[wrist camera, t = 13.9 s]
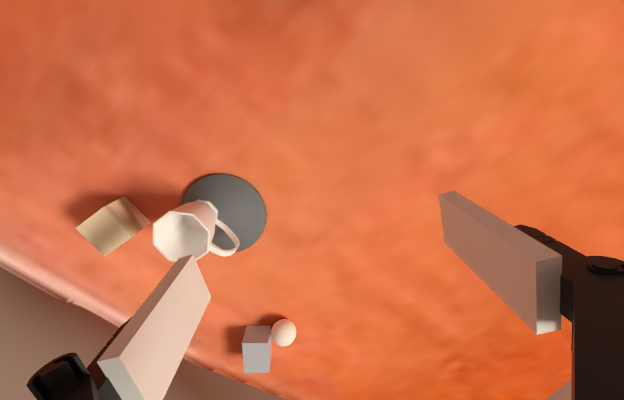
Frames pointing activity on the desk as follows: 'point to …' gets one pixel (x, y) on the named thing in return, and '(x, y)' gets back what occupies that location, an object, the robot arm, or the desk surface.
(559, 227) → the desk surface
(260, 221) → the coaster
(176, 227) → the cup
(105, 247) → the birch block
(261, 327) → the greyblue block
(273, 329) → the ball
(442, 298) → the desk surface
